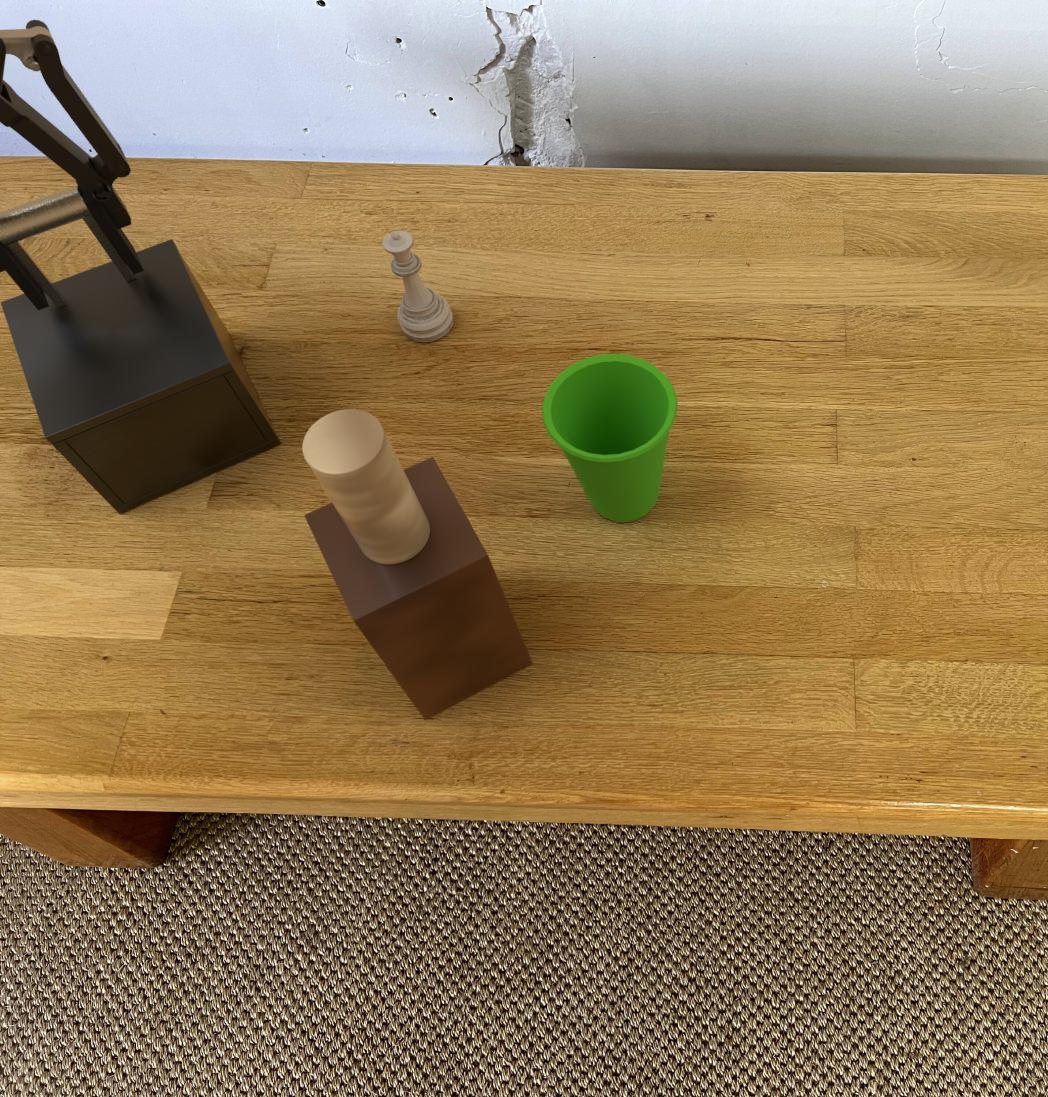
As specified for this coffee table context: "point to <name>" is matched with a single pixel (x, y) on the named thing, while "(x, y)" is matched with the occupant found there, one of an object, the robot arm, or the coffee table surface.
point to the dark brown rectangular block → (428, 601)
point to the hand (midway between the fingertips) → (87, 278)
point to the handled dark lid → (105, 326)
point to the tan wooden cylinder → (367, 485)
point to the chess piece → (416, 293)
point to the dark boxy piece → (175, 435)
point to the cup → (613, 430)
